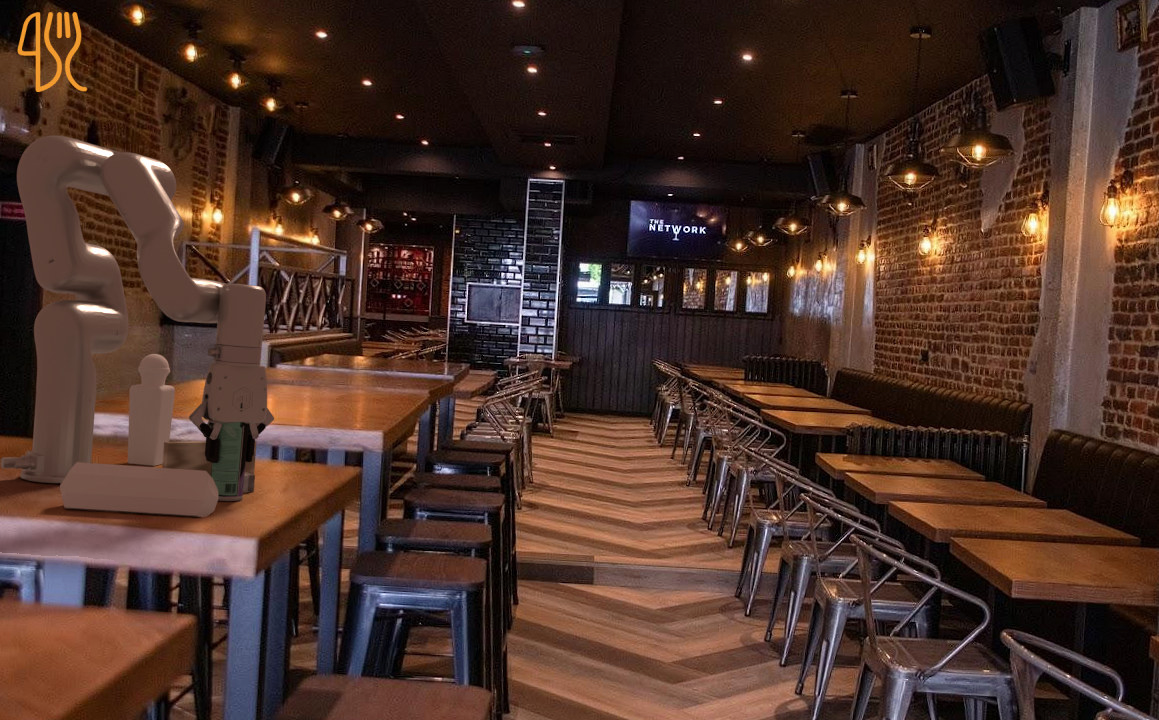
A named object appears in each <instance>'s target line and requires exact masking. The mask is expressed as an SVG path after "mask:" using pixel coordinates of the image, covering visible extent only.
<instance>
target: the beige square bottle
mask: <svg viewBox="0 0 1159 720" xmlns="http://www.w3.org/2000/svg"><path fill="white" fill-rule="evenodd" d="M137 367H138V368H137V372H138V373H139V374H140V377H141V378H140V379H141V382H140V384H134V385H133V384H132V385H131V386H130V387H129V394H128V395H129V398H128V434H127V435H128V436H127V437H128V438H127V439H128V440H127V464H129V465H137V466H147V467H156V466H159V465H163V451H164V442H170V440H171V439H170V438H171V429H172V421H173V412H174V406H175V405H174V404H175V403H174V402H175V395H176V389H175V387H174V386H173V385H166V379H167V378H168V375H169V374H170V373H171V368H170V366H169V362H168V360H167V359H166V358H165V356H163V355H161V354H158V353H151V354H148V355H146V356H145V357H143V358H142V359H141V361H140V363H139V366H137Z"/></svg>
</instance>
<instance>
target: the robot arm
mask: <svg viewBox="0 0 1159 720" xmlns="http://www.w3.org/2000/svg"><path fill="white" fill-rule="evenodd" d="M16 183H17V188H18V193H19V197H20V198H19V199H20V200H21V201H20V202H21V204H22V207H23V212H24V216H25V221H26V229H27V231H26V232H27V237H28V243H29V247H30V248H29V250H30V253H31V254H30V255H31V260H32V266H33V272H34V276H35V279H36V281H37V284H39V286H40V287H41V288H42V289H43V290H45V291H48V292H51V293H55V294H64V295H74V297H75V299H61V300H57V301H54V302H53V301H52V302H50V303H48V304H46V305H45V306H43V308H41V310H40V311H39V312H38V313H37V314H36V315H37V316H36V318H35V321H34V324H33V326H34V327H33V335H34V343H35V350H36V362H37V364H36V368H37V369H36V370H37V372H36V374H37V375H36V389H35V390H36V392H35V394H36V395H35V406H34V407H35V408H34V421H33V433H32V434H33V437H32V450H27V451H26V452H25V453H26V454H21V456H20V457H17V456H16V457H14V456H8V457H5V456H4V457H3V456H2V457H1V459H0V468H1V469H15V470H17V469H20V470H21V471H20V478H21V479H23V480H25V481H29V482H33V483H34V482H35V483H43V484H45V483H46V484H61V483H62V482H63V480H64V479H65V477H66V475H67V474H68V472H69V471H70V469H71V468H72V467H73V466H74V465H75V464H76V463H77V462H81V463H92V456H93V455H92V452H93V441H94V439H93V438H94V426H95V414H96V399H97V398H96V397H97V396H96V395H97V371H96V367H95V363H94V360H93V357H92V355H93V354H94V355H97V354H98V355H100V354H109V353H113V352H114V351H118V350H119V349H120V348H121V347H122V346H123V345H124V343H125V342H126V340H127V338H128V334H129V329H130V327H129V315H128V309H127V308H128V307H127V303H126V302H127V301H126V297H125V292H124V290H125V289H124V284H123V280H122V279H123V278H122V275H121V274H122V273H121V269H120V266H119V264H118V262H117V260H116V258H115V257H114V255H113V254H112V253H111V252H110V251H109V250H107V249H106V248H104V247H103V246H101V245H98V244H92V243H87V242H85V240H84V236H83V233H82V228H81V220H80V216H79V212H78V210H77V207H76V206H75V204H74V202H73V199H72V198H71V196H70V195H69V192H68V190H67V189H68V188H73V189H77V190H80V191H85V192H89V193H95V194H99V195H103V196H107V197H109V198H110V200H111V201H112V203H113V205H114V206H115V208H116V209H117V212H118V213H119V215H120V216H121V218H122V220H123V222H124V223H125V225H126V227H127V228H128V229H129V231H130V233H131V235H132V236H133V238H134V240H135V242H136V245H137V246H136V258H137V259H136V261H137V267H138V272H139V275H140V278H141V280H142V283H143V285H144V287H146V289H147V291H148V292H149V295H150V296H151V298H152V299H153V301H154V302H155V304H156V306H157V307H158V308H159V309H160V311H161V312H162V313H163V314H164V315H165V316H166V317H167V318H170V319H171V320H173V321H176V322H180V323H181V322H182V323H197V324H198V323H199V324H217V325H216V336H215V344H214V346H213V347H212V348H211V347H210V348H207V356H209V357H213V358H212V359H213V362H210V364H209V367H208V369H207V370H208V371H207V374H206V377H205V380H204V382H205V383H204V386H203V392H202V400H201V403H200V404H199V405H198V406H197V407H196V408H195V409H194V411H193V412H191V414H190V415H189V416H188V420H189V421H190V422H191V423H192V424H193V425H194V426H195V427H196V428H197V429H198V430H199V431H200V433H201V434H202V436H203V438H205V441H206V445H205V457H206V460H207V461H209V462H212V463H217V462H218V460H219V448H220V440H218V439H217V436H218V434H219V432H220V429H221V427H222V424H223V423H236V422H244V423H249V430H248V441H247V453H246V462H252V456H253V455H254V448H255V441H256V440H257V439H259V436H260V435H261V433H262V432H264V430H265V429H266V427H268V426H269V425H270V424H271V423H273V422H274V420H275V416H274V415H273V413H272V412H271V411H270V409H269V408H268V383H267V373H266V366H265V365H261V361H262V360H261V358H262V349H263V337H264V336H263V335H264V326H265V317H266V316H265V315H266V314H265V313H266V304H267V302H266V301H267V293H266V291H265V289H264V288H263V287H261V286H258V285H251V284H243V283H231V282H230V283H224V282H220V281H218V280H212V279H205V278H195V277H191V276H190V275H189V274H188V272H187V270H186V268H185V267H184V265H183V264H182V262H181V260H180V258H179V256H178V254H177V252H176V249H175V245H174V240H175V239H176V238H177V237H179V235H181V233H182V232H183V230H184V225H185V223H184V220H183V218H182V217H181V215H180V213H179V211H178V210H177V208H176V206H175V205H174V203H173V202H172V200H173V199H174V197H175V194H176V191H177V180H176V177H175V175H174V173H173V171H172V170H171V168H170V167H169V166H168V165H166V164H165V163H164V162H162V161H161V160H159V159H155V158H152V157H148V156H145V155H143V154H142V155H141V154H139V153H134V152H129V151H128V152H127V151H125V152H122V151H118V150H114V149H111V148H107V147H103V146H100V145H97V144H92V143H89V142H87V141H83V140H80V139H77V138H73V137H69V136H64V135H46V136H42V137H39V138H38V139H35V140H34V141H33V142H31V143H30V144H28V146H27V147H26V148H25V150H24V152H23V153H22V155H21V157H20V159H19V162H18V165H17V169H16ZM241 403H243V406H242V409H241V408H240V406H241ZM240 410H241V411H242V412H241V411H240ZM203 419H205V420H206V421H207V423H206V422H205V421H204V420H203Z"/></svg>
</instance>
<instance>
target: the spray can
mask: <svg viewBox="0 0 1159 720" xmlns="http://www.w3.org/2000/svg"><path fill="white" fill-rule="evenodd" d="M242 406H243V403H241V406H240V408H241V409H242ZM240 411H241V410H240ZM241 412H242V411H241ZM248 430H249V423H244V422H236V423H223V424H222V427H221V429H220V432H219V434H218V436H217V439H218V440H220V448H219V460H218V462H217V463H212V469H211V477H212V478H213V480H214V482H215V485H216V487H217V489H218V501H220V502H222V501H223V502H234V501H235V502H236V501H241V500H243V497H244V492H243V488H244V476H245V465H246V453H247V441H248Z"/></svg>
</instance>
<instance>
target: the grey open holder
mask: <svg viewBox="0 0 1159 720" xmlns="http://www.w3.org/2000/svg"><path fill="white" fill-rule="evenodd" d="M205 445H206V440H203V441H202V440H200V441H196V440H195V441H191V440H190V441H169V442H164V451H163V464H161V465H162V467H161V468H171V469H186V470H201V471H207V473H208V474H209V475H210V476H211V469H212V462H209V461H207V460H206V457H205ZM256 452H257V441H256V440H255V448H254V455H253V456H252V462H246V465H245V476H244V488H243V493H254V491H255V482H256V481H255V480H256V475H255V466H256V454H257V453H256Z"/></svg>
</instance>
